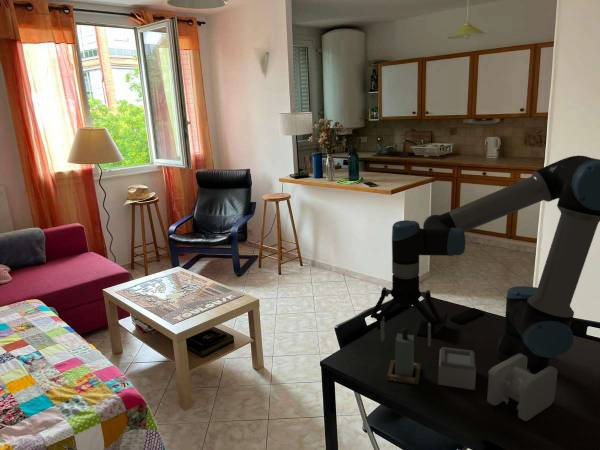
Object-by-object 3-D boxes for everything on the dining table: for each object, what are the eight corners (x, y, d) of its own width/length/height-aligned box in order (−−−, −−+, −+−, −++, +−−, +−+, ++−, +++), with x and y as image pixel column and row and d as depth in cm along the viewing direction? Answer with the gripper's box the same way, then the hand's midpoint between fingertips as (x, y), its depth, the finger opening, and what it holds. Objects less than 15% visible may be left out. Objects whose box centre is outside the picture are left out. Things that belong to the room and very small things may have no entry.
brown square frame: (420, 367, 138) (420, 363, 138) (418, 384, 130) (418, 380, 130) (391, 363, 141) (391, 359, 141) (387, 380, 133) (387, 375, 133)
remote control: (473, 311, 176) (448, 321, 168) (473, 307, 176) (449, 316, 168) (484, 315, 172) (460, 325, 164) (484, 311, 172) (460, 321, 164)
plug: (413, 370, 137) (414, 326, 133) (411, 379, 133) (412, 334, 129) (396, 368, 139) (397, 324, 135) (394, 377, 134) (395, 332, 130)
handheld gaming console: (416, 318, 167) (433, 301, 163) (431, 329, 168) (449, 312, 163) (415, 337, 157) (434, 319, 153) (432, 348, 157) (451, 331, 153)
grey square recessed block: (473, 370, 136) (474, 350, 134) (474, 389, 126) (476, 368, 125) (439, 366, 139) (439, 345, 137) (438, 384, 130) (438, 363, 128)
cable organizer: (521, 427, 111) (525, 386, 108) (484, 405, 120) (487, 367, 117) (554, 405, 119) (559, 366, 116) (517, 386, 128) (520, 349, 125)
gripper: (451, 272, 127) (449, 339, 132) (364, 267, 135) (366, 331, 140) (451, 282, 120) (449, 352, 125) (360, 276, 128) (361, 343, 133)
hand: (405, 341), depth 133 cm, fingers open, 13 cm apart
